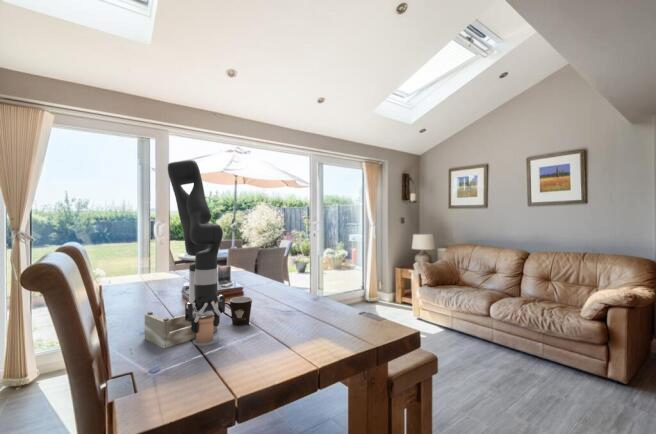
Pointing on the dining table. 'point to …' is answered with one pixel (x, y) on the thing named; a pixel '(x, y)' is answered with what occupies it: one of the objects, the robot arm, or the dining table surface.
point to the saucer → (215, 339)
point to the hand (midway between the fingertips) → (205, 329)
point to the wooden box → (168, 330)
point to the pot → (205, 328)
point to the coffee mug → (240, 310)
